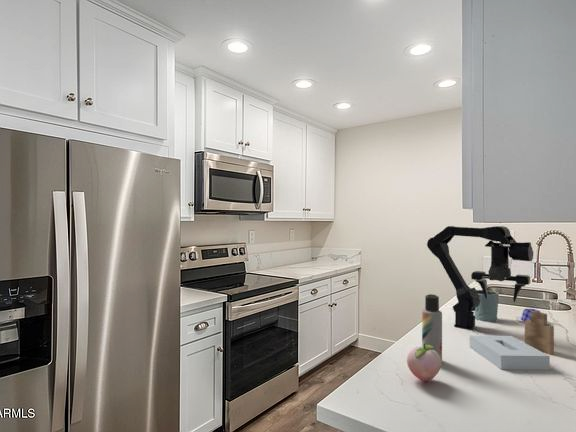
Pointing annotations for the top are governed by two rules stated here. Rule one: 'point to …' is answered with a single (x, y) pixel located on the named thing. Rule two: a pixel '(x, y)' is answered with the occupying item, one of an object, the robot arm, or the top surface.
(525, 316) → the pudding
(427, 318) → the lotion bottle
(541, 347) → the angular brown block
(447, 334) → the top surface
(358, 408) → the top surface
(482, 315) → the teal canister
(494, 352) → the flat gray panel
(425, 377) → the decorative fruit
